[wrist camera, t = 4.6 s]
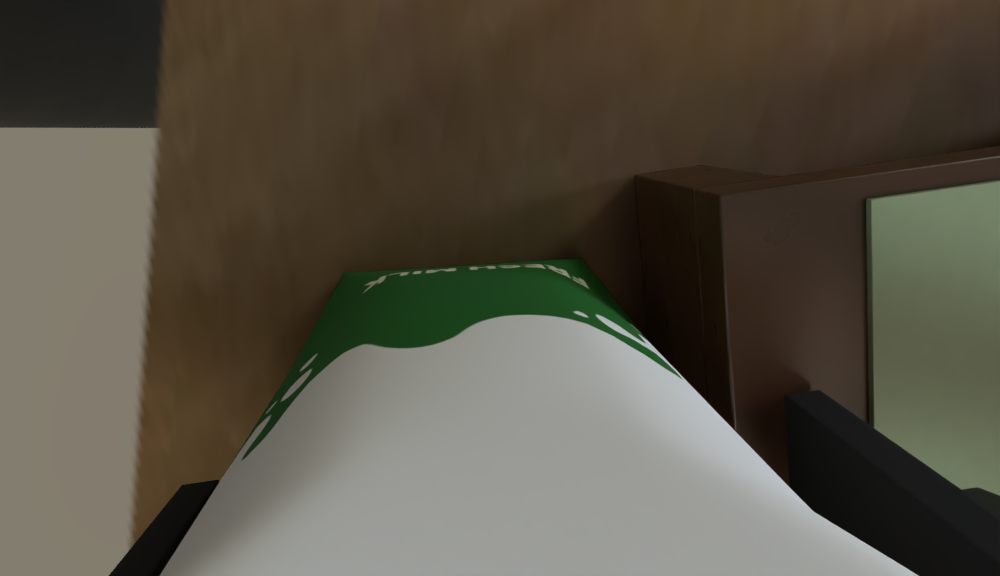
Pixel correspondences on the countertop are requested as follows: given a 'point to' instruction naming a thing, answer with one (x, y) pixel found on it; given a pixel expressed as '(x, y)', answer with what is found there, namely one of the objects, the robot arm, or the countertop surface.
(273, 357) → the countertop surface
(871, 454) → the robot arm
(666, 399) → the milk carton
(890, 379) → the brown wooden stand
